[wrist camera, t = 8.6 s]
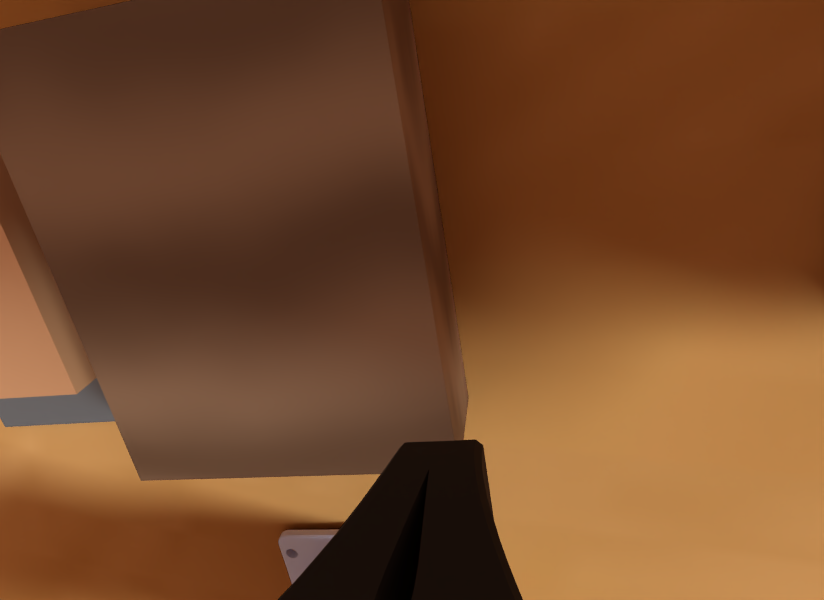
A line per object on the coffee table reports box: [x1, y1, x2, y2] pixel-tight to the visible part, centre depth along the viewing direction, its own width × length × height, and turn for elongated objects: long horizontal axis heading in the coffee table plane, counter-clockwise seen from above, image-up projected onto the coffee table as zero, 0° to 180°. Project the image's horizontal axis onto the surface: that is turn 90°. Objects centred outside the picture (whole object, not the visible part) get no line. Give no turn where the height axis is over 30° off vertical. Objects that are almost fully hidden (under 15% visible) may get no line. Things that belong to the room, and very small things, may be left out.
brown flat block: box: [0, 0, 468, 481], centre depth 18 cm, size 14×11×4 cm
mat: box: [0, 378, 115, 427], centre depth 22 cm, size 14×9×1 cm, turn 10°
